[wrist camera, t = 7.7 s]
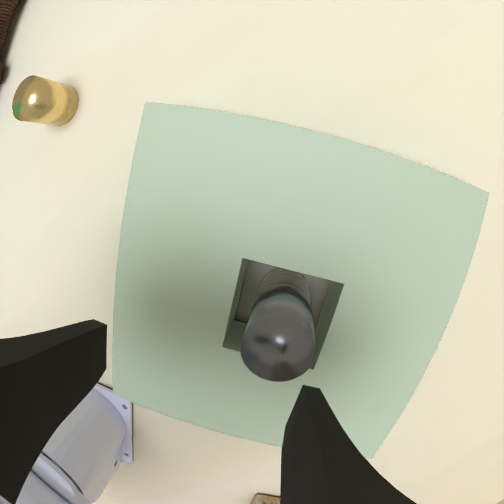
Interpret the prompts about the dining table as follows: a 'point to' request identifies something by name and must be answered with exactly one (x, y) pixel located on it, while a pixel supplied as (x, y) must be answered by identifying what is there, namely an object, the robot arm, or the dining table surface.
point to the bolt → (5, 24)
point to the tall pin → (280, 328)
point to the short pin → (44, 101)
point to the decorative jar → (265, 499)
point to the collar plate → (284, 256)
